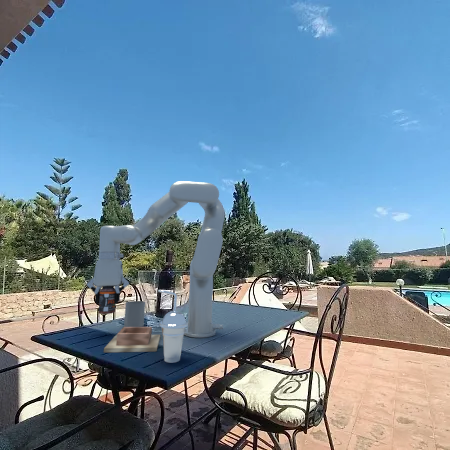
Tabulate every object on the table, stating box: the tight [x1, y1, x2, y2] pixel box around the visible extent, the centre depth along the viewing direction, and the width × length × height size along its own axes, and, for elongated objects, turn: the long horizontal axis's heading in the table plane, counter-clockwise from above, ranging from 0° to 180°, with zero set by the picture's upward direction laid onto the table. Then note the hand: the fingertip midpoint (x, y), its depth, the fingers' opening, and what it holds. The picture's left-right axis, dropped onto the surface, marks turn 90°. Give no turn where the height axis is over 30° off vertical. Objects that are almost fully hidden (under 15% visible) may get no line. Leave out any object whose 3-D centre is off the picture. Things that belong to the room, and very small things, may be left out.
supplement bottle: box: [98, 286, 117, 315], centre depth 108 cm, size 6×6×11 cm
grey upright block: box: [123, 300, 146, 327], centre depth 123 cm, size 8×8×10 cm
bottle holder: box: [103, 326, 161, 354], centre depth 95 cm, size 16×16×5 cm
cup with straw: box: [157, 289, 188, 363], centre depth 83 cm, size 8×9×20 cm
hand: (107, 303), depth 107 cm, fingers closed on supplement bottle, 5 cm apart
